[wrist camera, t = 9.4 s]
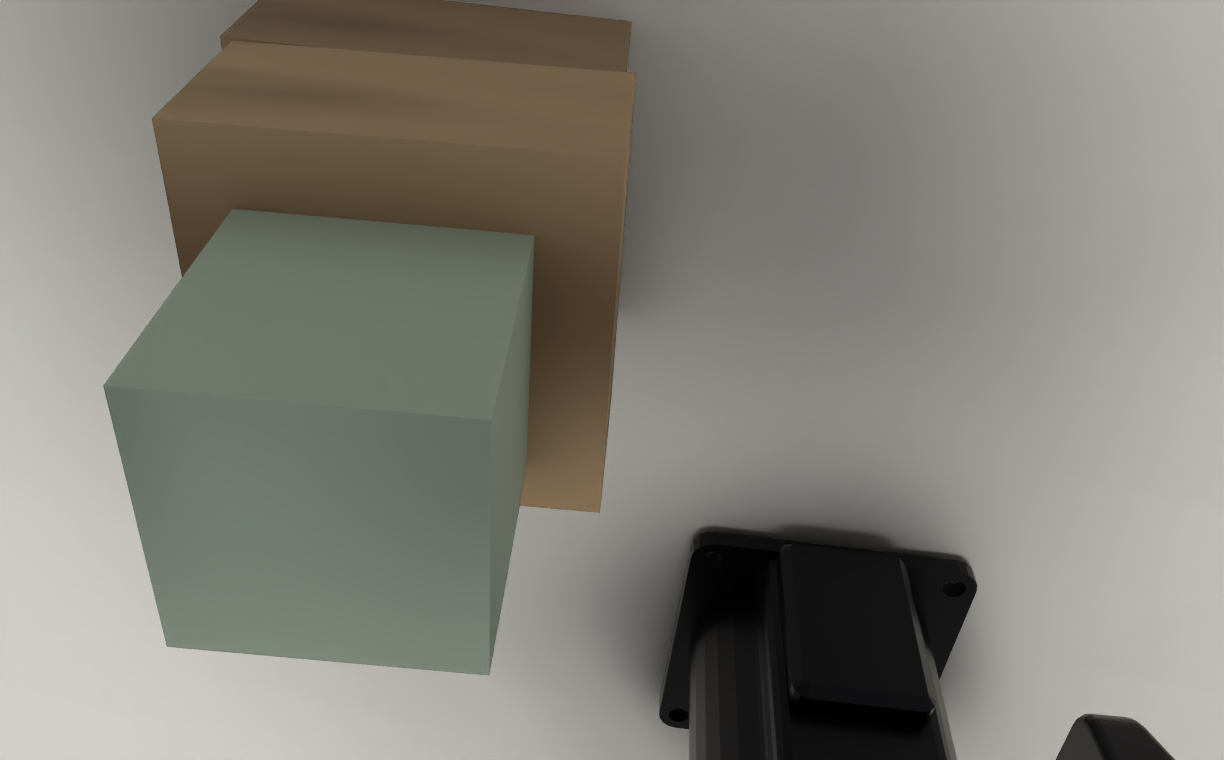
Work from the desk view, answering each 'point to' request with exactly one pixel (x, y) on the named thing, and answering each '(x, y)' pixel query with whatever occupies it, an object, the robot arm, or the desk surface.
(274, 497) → the sage block
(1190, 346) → the desk surface
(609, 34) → the block
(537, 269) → the brown square block
